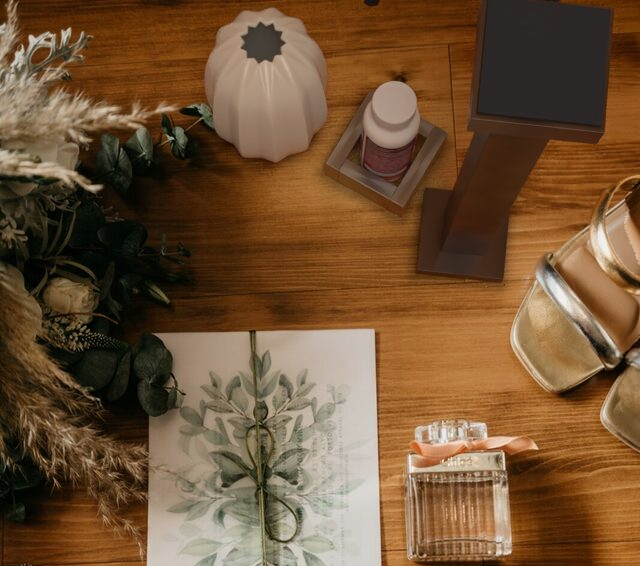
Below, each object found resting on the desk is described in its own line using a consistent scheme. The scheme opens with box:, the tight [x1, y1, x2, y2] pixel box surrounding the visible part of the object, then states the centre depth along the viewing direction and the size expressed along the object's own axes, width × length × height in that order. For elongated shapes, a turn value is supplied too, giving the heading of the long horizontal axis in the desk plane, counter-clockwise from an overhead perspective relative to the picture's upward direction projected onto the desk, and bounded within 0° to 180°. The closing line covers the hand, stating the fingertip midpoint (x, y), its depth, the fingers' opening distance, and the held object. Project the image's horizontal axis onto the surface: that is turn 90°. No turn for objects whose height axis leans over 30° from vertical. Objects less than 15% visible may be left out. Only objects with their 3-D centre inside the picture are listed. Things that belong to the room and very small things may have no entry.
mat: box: [477, 0, 611, 127], centre depth 54 cm, size 9×9×1 cm
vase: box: [203, 6, 329, 163], centre depth 79 cm, size 14×14×13 cm
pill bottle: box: [358, 80, 421, 183], centre depth 79 cm, size 6×6×11 cm
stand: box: [324, 89, 449, 218], centre depth 84 cm, size 10×10×2 cm
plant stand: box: [415, 0, 615, 284], centre depth 69 cm, size 10×10×31 cm
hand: (428, 36), depth 73 cm, fingers open, 13 cm apart
